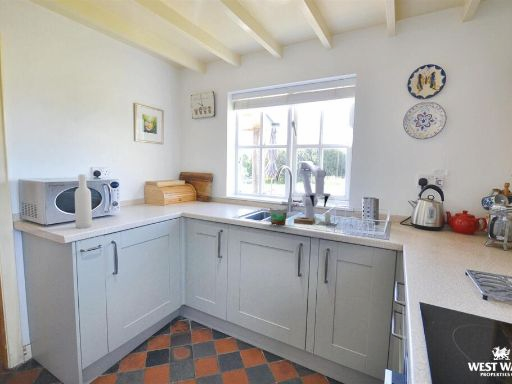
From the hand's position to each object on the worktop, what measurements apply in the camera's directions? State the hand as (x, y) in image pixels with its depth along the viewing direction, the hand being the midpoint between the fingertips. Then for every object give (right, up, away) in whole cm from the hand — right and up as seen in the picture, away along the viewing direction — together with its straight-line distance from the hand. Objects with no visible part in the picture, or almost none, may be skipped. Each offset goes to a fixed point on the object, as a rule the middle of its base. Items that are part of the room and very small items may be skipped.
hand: (318, 206), depth 178 cm
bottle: (-142, -10, -29) cm, 146 cm away
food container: (-30, -11, -12) cm, 34 cm away
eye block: (-10, -10, -2) cm, 15 cm away
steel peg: (+4, -11, -6) cm, 13 cm away
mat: (+4, -11, -6) cm, 13 cm away
